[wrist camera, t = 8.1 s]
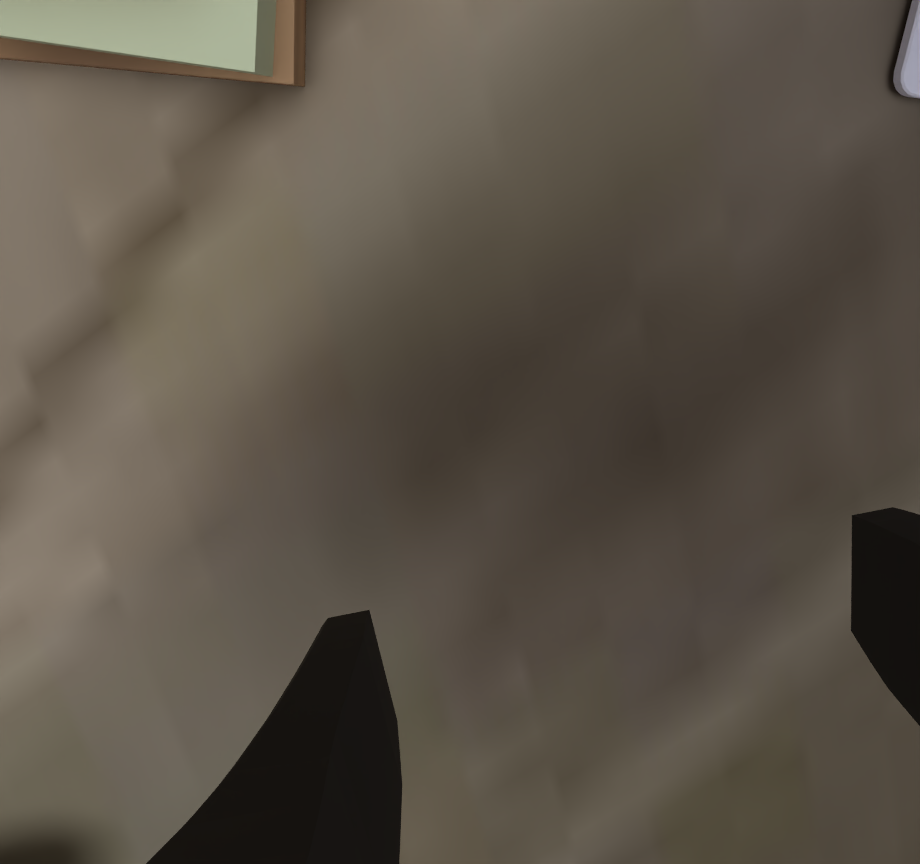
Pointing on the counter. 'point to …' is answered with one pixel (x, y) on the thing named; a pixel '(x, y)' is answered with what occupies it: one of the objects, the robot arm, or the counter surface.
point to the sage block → (153, 29)
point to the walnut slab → (284, 64)
